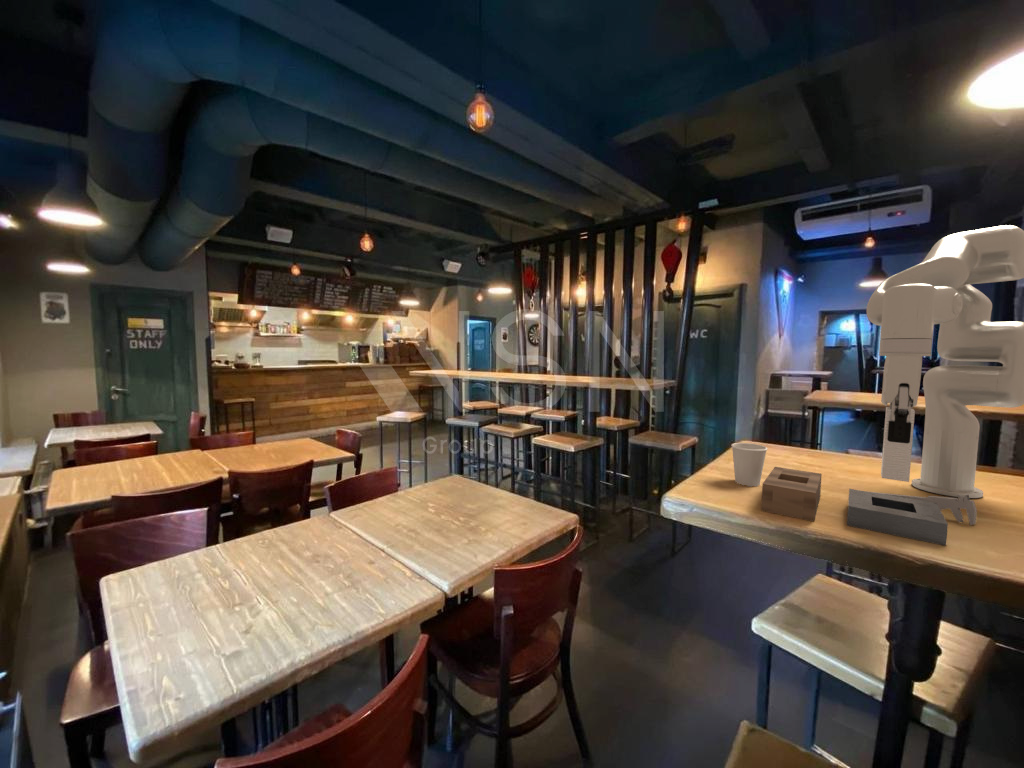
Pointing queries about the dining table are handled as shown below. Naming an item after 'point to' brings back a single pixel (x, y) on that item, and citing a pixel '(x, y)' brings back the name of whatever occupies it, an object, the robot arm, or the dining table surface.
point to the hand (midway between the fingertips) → (897, 439)
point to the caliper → (949, 505)
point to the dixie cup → (748, 463)
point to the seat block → (897, 516)
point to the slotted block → (792, 493)
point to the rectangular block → (896, 453)
